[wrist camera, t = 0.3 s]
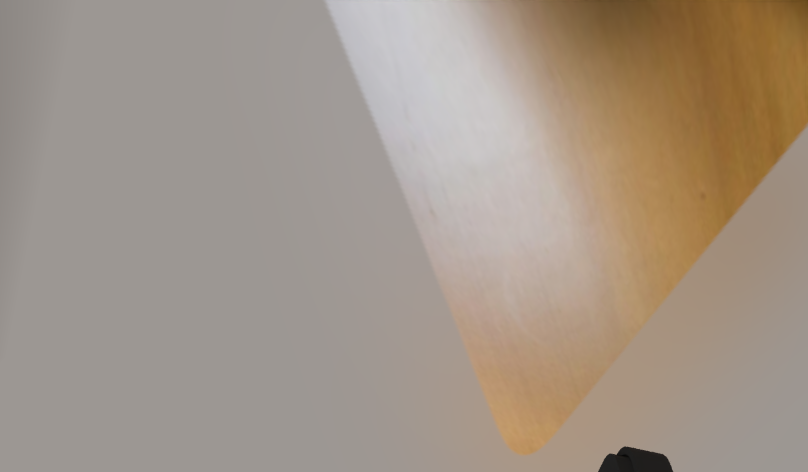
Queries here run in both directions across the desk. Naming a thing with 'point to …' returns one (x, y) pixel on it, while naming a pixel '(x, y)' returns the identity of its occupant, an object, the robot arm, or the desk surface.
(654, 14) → the desk surface
